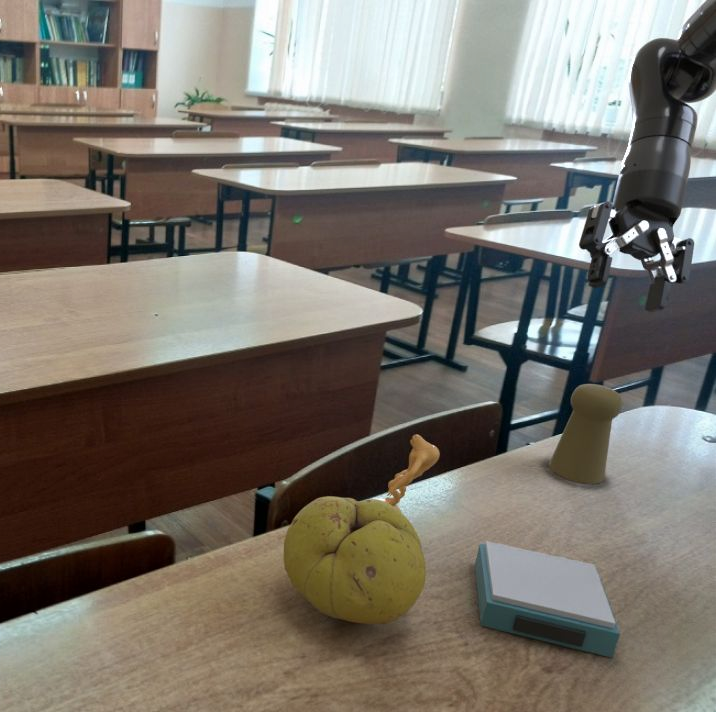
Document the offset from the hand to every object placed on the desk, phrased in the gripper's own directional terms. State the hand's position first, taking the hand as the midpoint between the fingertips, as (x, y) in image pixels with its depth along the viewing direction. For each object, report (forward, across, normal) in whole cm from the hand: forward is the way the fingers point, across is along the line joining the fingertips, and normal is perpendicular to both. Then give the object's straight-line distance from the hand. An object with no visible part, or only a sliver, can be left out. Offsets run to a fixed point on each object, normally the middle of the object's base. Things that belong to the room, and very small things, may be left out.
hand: (625, 298), depth 91 cm
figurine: (+38, -26, -7) cm, 47 cm away
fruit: (+45, -33, -15) cm, 58 cm away
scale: (+40, -16, -17) cm, 46 cm away
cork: (+22, 0, +2) cm, 23 cm away
